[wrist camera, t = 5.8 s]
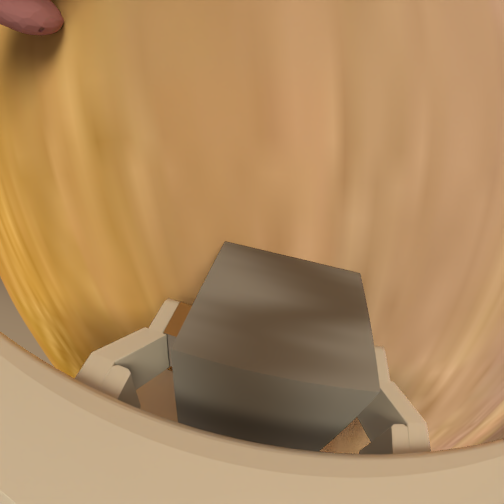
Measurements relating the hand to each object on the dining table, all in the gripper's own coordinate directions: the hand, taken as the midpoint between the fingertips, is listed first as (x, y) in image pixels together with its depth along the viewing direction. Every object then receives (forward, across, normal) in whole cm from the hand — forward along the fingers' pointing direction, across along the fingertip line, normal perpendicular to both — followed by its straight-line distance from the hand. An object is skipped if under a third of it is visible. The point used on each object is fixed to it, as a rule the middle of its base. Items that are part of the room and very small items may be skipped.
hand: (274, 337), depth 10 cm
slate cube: (+2, 0, 0) cm, 2 cm away
